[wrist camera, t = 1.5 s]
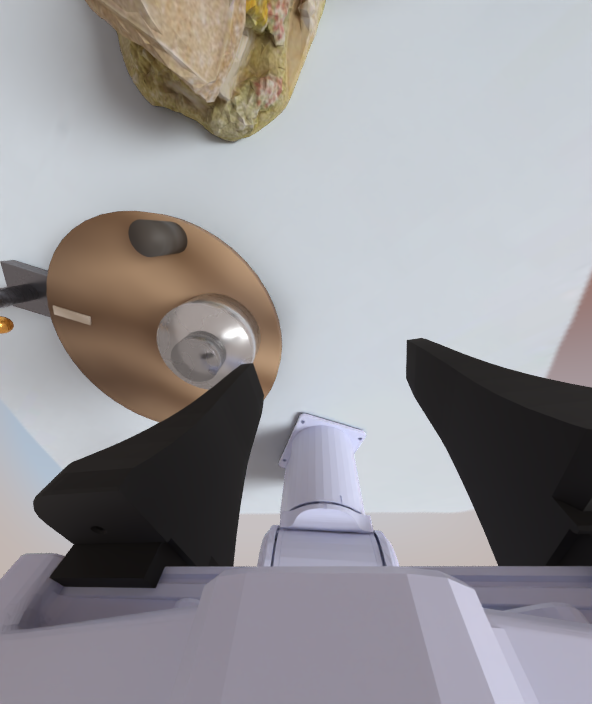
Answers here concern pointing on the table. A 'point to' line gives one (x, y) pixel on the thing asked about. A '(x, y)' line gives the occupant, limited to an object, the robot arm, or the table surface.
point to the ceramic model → (215, 56)
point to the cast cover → (208, 339)
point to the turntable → (146, 303)
